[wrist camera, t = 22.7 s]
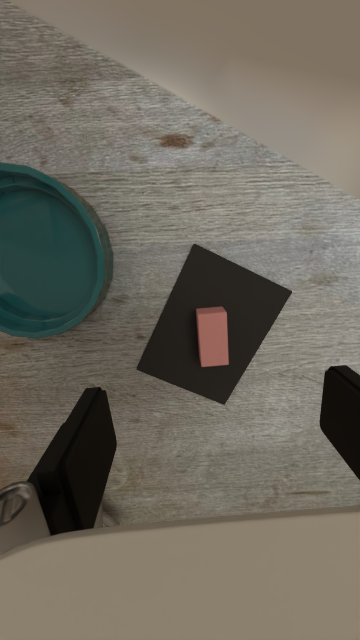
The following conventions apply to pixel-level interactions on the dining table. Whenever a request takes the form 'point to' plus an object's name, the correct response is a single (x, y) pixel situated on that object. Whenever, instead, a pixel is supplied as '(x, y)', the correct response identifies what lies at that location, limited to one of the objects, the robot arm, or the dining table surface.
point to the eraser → (212, 336)
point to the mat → (242, 324)
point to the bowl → (48, 255)
